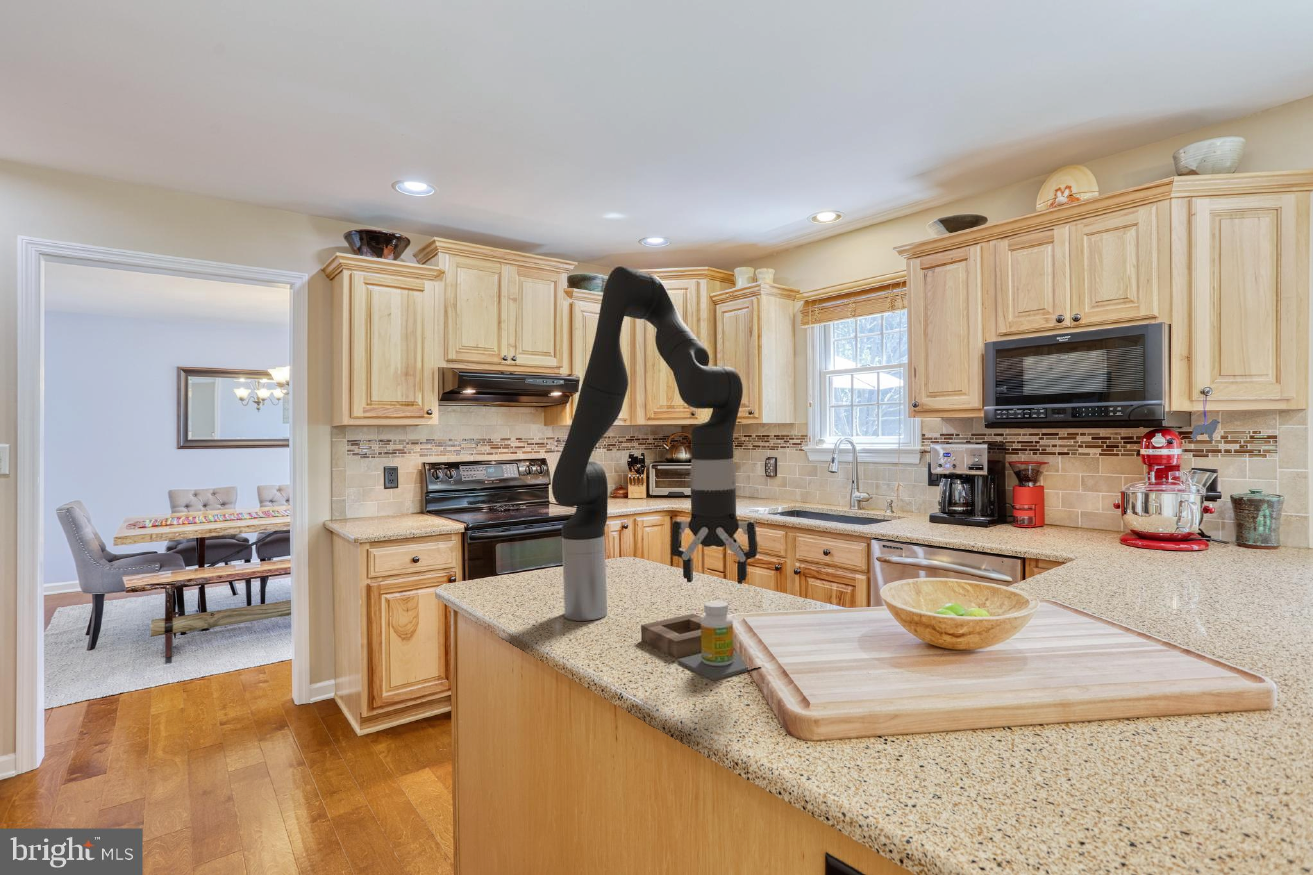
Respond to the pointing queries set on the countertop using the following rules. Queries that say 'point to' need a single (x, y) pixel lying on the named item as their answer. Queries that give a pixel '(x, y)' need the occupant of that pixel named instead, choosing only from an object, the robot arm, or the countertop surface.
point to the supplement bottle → (717, 634)
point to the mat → (714, 667)
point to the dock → (674, 635)
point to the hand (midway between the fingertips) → (714, 582)
